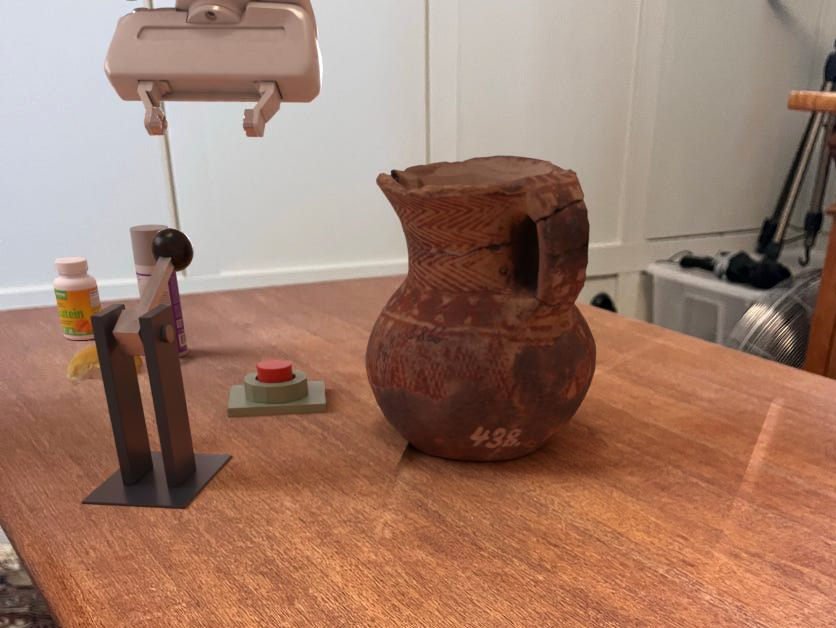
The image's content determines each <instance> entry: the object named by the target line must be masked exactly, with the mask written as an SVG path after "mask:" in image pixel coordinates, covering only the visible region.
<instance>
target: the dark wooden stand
mask: <svg viewBox="0 0 836 628" xmlns="http://www.w3.org/2000/svg"><path fill="white" fill-rule="evenodd" d="M122 310H127V309H126V304H125V303H112V304H110V305H108V306H106V307H104V308H103V309H102V310H101V311H99V312H97V313H95V314H93V315H92V316H90V318H91V324H92V329H93V334H94V339H93V340H94V343H95V344H94V345H96V349H97V354H98V359H99V364H100V369H101V375H102V379H101V380H102V385H103V389H104V395H105V400H106V404H107V405H106V406H107V410H108V415H109V420H110V426H111V430H112V435H113V440H114V446H115V451H116V457H117V461H118V466H119V467H118V469H117V470H115V472H112V474H111V475H110V476H109V477H107V478H106V479H105V480H104V481H102V483H101V484H99V486H97V487H96V488H95V489H94V490H93V491H91V492H90V493H89V494H88V495H87V496H86V497H85V498H84V499H82V501H81V505H91V506H92V505H93V506H97V505H98V506H111V507H112V506H113V507H129V508H130V507H134V508H152V509H170V510H171V509H172V510H174V509H175V510H186V509H187V508H188V506H190V504H191V503H192V502H193V501H194V500H195V499H196V498H197V497H198V496H199V494H200V493H201V492H202V491H203V490H204V489H205V488H206V487H207V486H208V485H209V484H210V483H211V481H213V479H214V478H215V477H216V476H217V475H218V474H219V472H220V471H221V470H223V469H224V467H225V466H226V465H227V464H228V463H229V462H230V460H231V459H232V458H233V455H232V454H223V453H222V454H221V453H202V452H201V453H199V452H195V450H194V445H193V443H194V442H193V438H192V431H191V425H190V418H189V412H188V405H187V398H186V392H185V386H184V379H183V373H182V367H181V360H180V357H179V353H178V346H177V340H176V333H175V327H174V321H173V314H172V308H171V305H159V306H157V307H155V308H154V309H152V310H150V311H149V312H147V313H145V314H144V315H142V316H140V317H139V324H140V330H141V336H142V341H143V347H144V353H145V356H144V358H145V359H144V360H145V364H146V370H147V376H148V381H149V387H150V394H151V399H152V404H153V405H152V406H153V411H154V417H155V421H156V428H157V434H158V439H159V446H160V451H156V450H155V451H153V450H151V445H150V439H149V433H148V428H147V427H148V426H147V423H146V418H145V417H146V416H145V412H144V411H145V410H144V405H143V400H142V395H141V394H142V393H141V389H140V382H139V377H138V372H137V371H136V365H135V360H134V356H128V355H122V353H121V351H120V349H119V346H118V344H117V342H116V339H115V337H114V335H113V332H112V331H113V329H114V327H115V325H116V323H117V321H118V319H119V316H120V314H121V312H122Z"/></svg>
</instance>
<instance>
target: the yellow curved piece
mask: <svg viewBox="0 0 836 628" xmlns="http://www.w3.org/2000/svg"><path fill="white" fill-rule="evenodd" d="M134 360H135V365H136V371H137V373H138V372H139V370H140V367H141V366H144V361H143V359H142V356H134ZM66 377H67V379H68V381H69V382H70V383H71V384H72V385H74V386H78V385H79V384H81V383H82V382H84V381H85V380H91V379H92V380H102V375H101V369H100V364H99V359H98V354H97V349H96V344H93V345H92V346H89V347H87V348H85V349H83V350H81V351H79V352H77V353H76V354H75V356H73V358H72V359H71V360H70V362H69V363H68V364H67V367H66Z"/></svg>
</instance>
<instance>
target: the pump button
mask: <svg viewBox="0 0 836 628" xmlns="http://www.w3.org/2000/svg"><path fill="white" fill-rule="evenodd" d="M292 369H293V363H292V362H291V361H289V360H286V359H268V360H263V361H260V362H258V363H257V364H256V371H257V374H258V381H259V382H262V383H282V382H287V381H291V380H292V379H293V373H292Z"/></svg>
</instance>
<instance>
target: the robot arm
mask: <svg viewBox="0 0 836 628" xmlns="http://www.w3.org/2000/svg"><path fill="white" fill-rule="evenodd" d="M127 1H128V2H129V1H130V2H131V1H132V2H133V1H136V0H127ZM313 8H314V7H313V6H312V2H311V0H175V3H174V7H170V6H168V7H155V8H148V7H144V6H143V7H136V8H134V9H133V11H132V12H129V13H127V14H125V15H121V16H120V17H119V18H118V20H117V22H116V28H115V31H114V32H113V35H112V38H111V41H110V43H109V46H108V49H107V52H106V55H105V58H104V62H103V70H104V73H105V76H106V79H107V80H108V82H109V84H110V85H111V87H112V89H113V90H114V92H115V93H116V94H117V96H118V97H119V98H120V99H121V100H122V101H125V102H142V104H143V107H144V109H145V113H144V119H143V125H144V129H145V130H146V132H147V134H148V136H151V137H164V136H166V135H167V129H168V127H169V121H168V119H167V116H165V113H164V111H163V109H162V108H161V105H162V102H183V103H184V102H188V103H190V102H194V103H197V102H198V103H200V102H201V103H203V102H204V103H206V102H207V103H256V104H255V105H254V107H253V108H245V109H244V112H243V119H242V129H243V131H245V135H246V137H247V138H263V137H264V135H265V130H266V124H268V123H269V122H270V120H272V118H273V117H274V116H275V115H276V114H277V113H278V112H279V111H280V110H281V109H280V108H281V103H289V104H290V103H294V104H295V103H297V104H298V103H300V104H302V103H303V104H308V103H312V102H313V101H315V99H316V98H318V96H319V95H320V94H321V91H322V82H323V60H322V59H323V58H322V54H321V50H320V47H319V43H318V42H319V32H318V31H319V30H318V26H317V25H318V24H317V20H316V16H315V12H314V9H313Z"/></svg>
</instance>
